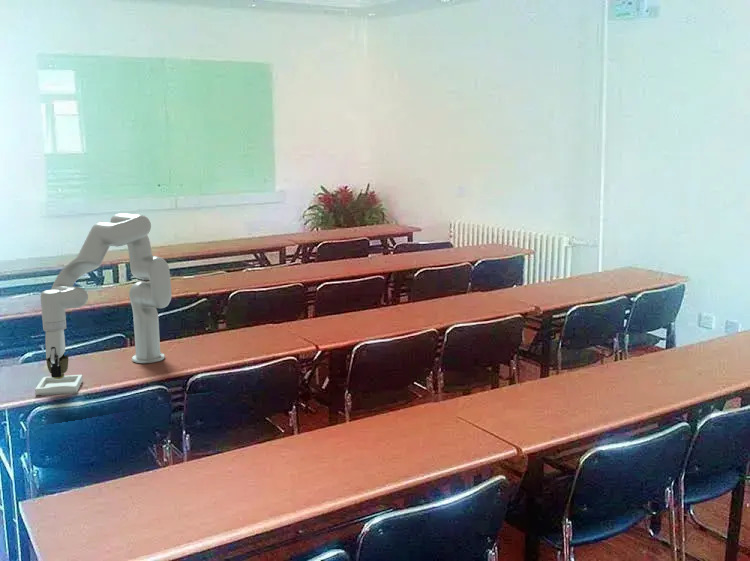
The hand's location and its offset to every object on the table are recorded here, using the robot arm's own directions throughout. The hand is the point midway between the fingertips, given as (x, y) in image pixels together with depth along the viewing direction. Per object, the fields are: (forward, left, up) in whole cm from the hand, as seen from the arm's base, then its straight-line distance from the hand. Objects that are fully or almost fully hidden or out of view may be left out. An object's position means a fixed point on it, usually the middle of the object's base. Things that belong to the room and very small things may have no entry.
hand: (58, 373), depth 269 cm
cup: (0, 0, -2) cm, 2 cm away
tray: (0, 0, -6) cm, 6 cm away
